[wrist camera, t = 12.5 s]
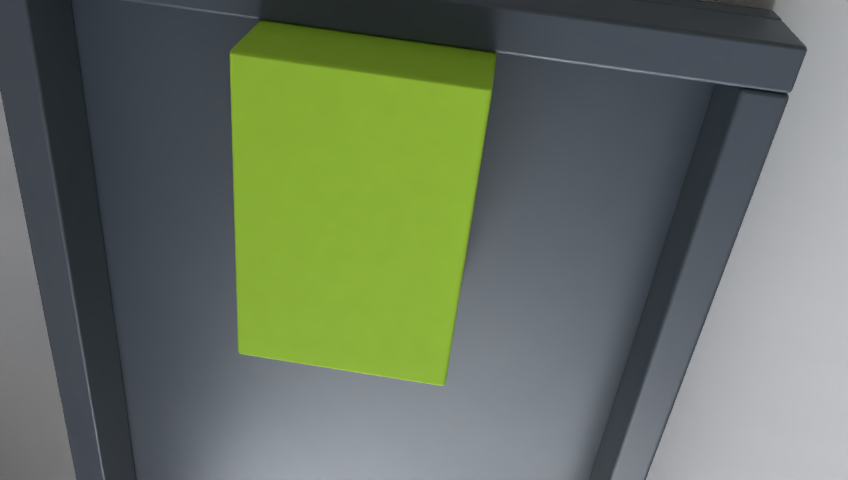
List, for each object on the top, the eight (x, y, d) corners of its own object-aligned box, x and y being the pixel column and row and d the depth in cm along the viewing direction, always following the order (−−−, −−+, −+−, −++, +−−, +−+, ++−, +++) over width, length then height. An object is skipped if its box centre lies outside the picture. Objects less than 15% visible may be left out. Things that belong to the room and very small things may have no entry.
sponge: (457, 294, 17) (444, 387, 15) (279, 267, 18) (236, 355, 15) (500, 27, 14) (493, 87, 12) (281, -3, 14) (227, 50, 12)
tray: (559, 637, 24) (561, 705, 23) (134, 564, 25) (104, 626, 23) (774, 10, 14) (809, 47, 12) (36, -90, 15) (-33, -69, 13)
